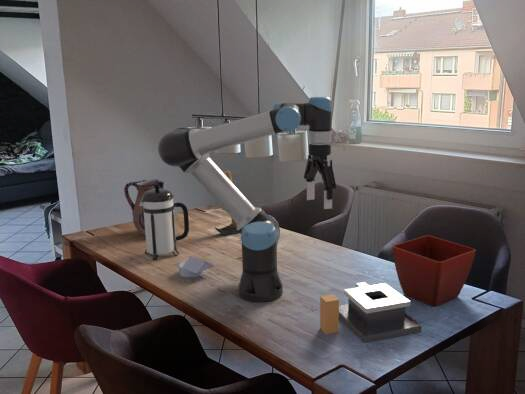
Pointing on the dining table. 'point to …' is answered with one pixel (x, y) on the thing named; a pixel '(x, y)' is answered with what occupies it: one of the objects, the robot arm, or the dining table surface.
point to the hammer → (233, 226)
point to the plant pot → (432, 268)
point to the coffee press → (161, 222)
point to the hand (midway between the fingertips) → (319, 203)
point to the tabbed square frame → (377, 312)
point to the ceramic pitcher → (136, 209)
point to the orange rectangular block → (329, 314)
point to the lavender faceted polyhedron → (193, 267)
